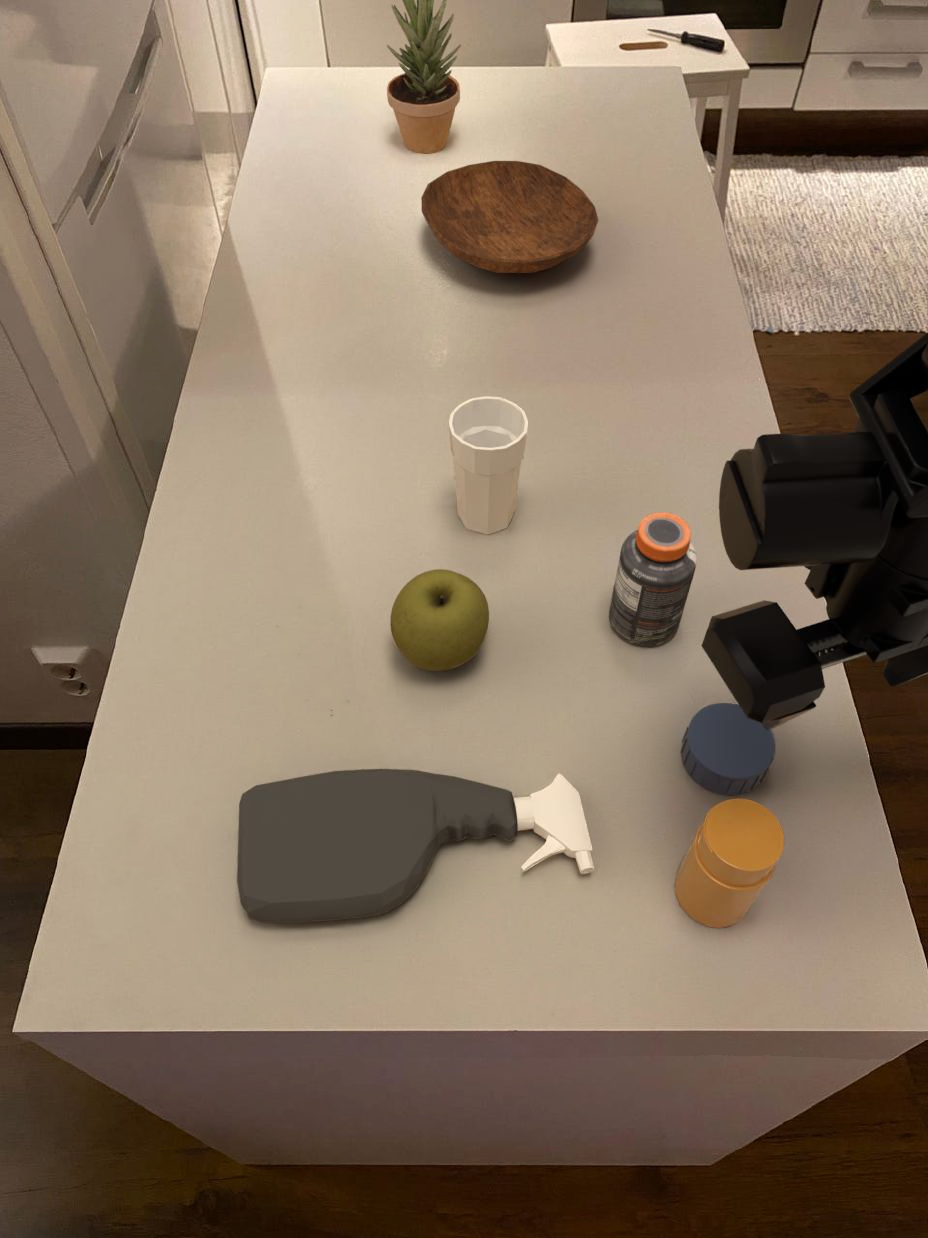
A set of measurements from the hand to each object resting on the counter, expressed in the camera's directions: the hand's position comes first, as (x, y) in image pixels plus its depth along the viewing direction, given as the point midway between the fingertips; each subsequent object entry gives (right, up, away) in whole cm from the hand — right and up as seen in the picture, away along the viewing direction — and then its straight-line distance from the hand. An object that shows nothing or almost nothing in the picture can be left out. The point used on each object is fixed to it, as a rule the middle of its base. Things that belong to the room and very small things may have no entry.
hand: (827, 701), depth 60 cm
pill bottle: (-8, +5, +20) cm, 22 cm away
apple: (-25, +3, +18) cm, 31 cm away
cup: (-21, +15, +28) cm, 38 cm away
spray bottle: (-27, -11, +8) cm, 30 cm away
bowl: (-18, +50, +54) cm, 76 cm away
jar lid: (-3, -5, +12) cm, 14 cm away
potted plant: (-28, +70, +69) cm, 102 cm away
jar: (-6, -14, +6) cm, 16 cm away
